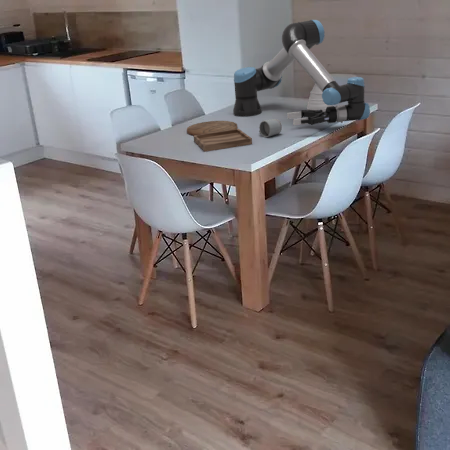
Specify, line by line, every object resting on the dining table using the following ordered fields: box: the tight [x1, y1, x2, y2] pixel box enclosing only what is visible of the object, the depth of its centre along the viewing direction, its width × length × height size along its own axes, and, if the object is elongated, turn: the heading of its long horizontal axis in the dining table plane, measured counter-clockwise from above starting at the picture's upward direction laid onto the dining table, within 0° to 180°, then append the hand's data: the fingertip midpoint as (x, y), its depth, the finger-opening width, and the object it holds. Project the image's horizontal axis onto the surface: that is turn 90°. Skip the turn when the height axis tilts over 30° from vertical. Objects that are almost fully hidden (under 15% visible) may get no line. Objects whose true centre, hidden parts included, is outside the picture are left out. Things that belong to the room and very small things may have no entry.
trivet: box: [186, 120, 238, 137], centre depth 311 cm, size 25×25×2 cm
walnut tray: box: [193, 128, 253, 153], centre depth 287 cm, size 20×22×3 cm
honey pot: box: [306, 83, 333, 112], centre depth 319 cm, size 13×13×18 cm
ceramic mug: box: [258, 118, 282, 138], centre depth 292 cm, size 11×8×8 cm
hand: (290, 119), depth 290 cm, fingers open, 13 cm apart
